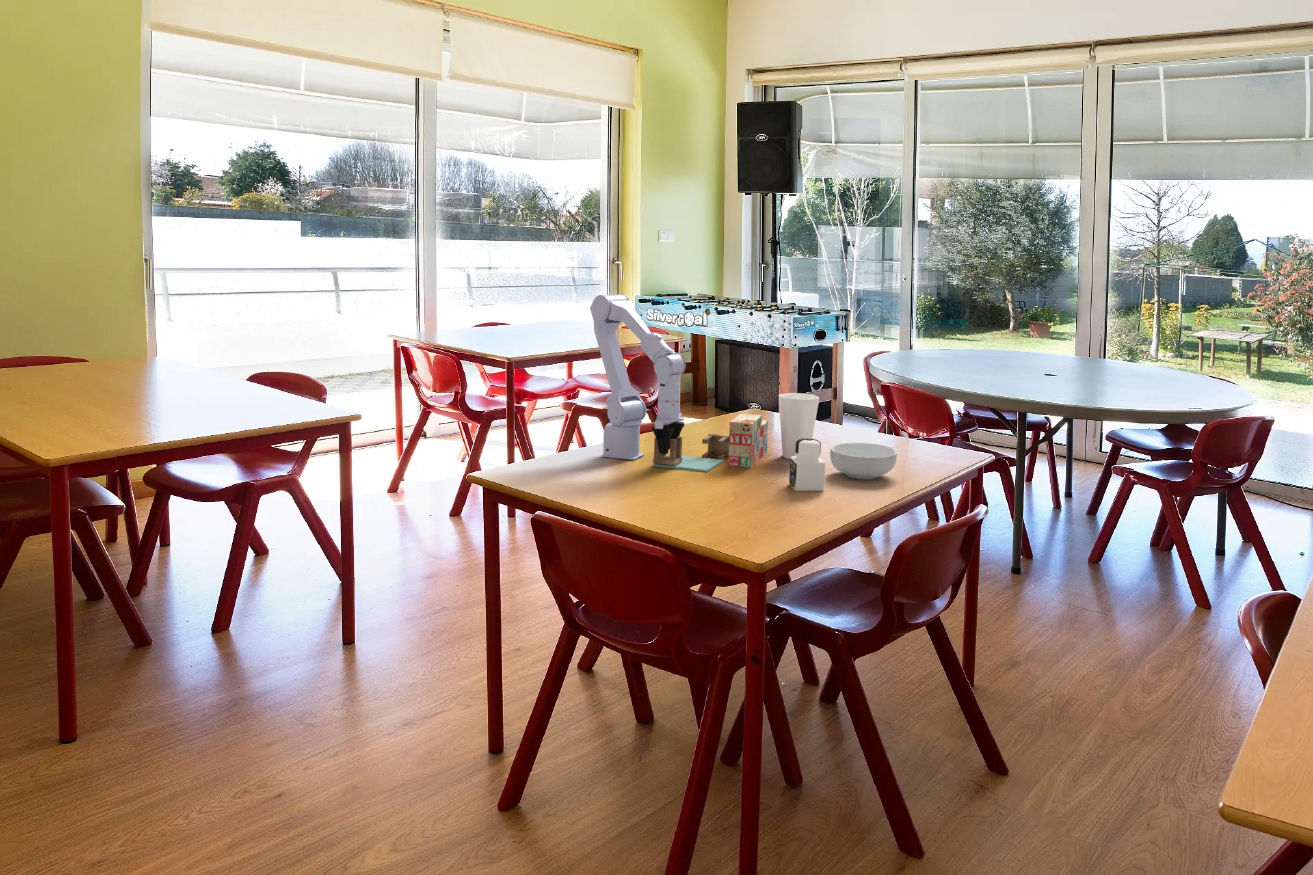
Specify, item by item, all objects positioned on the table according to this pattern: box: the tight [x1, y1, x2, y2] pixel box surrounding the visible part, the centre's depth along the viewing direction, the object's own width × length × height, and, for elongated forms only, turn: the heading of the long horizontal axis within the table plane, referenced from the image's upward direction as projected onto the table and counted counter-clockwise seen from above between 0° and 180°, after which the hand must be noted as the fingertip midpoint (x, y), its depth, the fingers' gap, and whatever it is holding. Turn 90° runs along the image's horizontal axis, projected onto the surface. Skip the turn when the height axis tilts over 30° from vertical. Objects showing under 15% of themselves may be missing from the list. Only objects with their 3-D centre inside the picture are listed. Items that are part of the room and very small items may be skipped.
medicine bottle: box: [788, 438, 826, 492], centre depth 257 cm, size 7×7×12 cm
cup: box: [778, 392, 820, 460], centre depth 290 cm, size 11×10×17 cm
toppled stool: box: [701, 433, 729, 461], centre depth 288 cm, size 6×6×7 cm
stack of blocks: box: [727, 413, 769, 469], centre depth 287 cm, size 21×6×12 cm, turn 163°
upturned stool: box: [652, 436, 683, 465], centre depth 277 cm, size 6×6×7 cm
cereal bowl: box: [829, 442, 898, 480], centre depth 271 cm, size 17×17×7 cm
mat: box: [652, 454, 724, 473], centre depth 280 cm, size 15×13×1 cm
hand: (667, 451), depth 277 cm, fingers closed on upturned stool, 5 cm apart
